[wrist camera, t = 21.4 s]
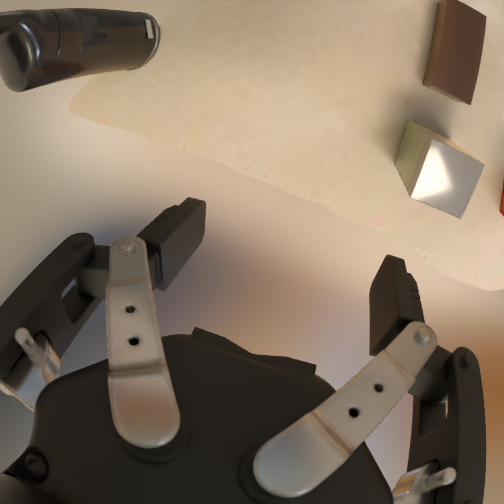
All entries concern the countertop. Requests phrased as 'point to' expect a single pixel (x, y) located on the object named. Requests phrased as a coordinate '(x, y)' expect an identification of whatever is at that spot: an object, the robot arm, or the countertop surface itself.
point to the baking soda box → (502, 202)
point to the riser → (455, 50)
